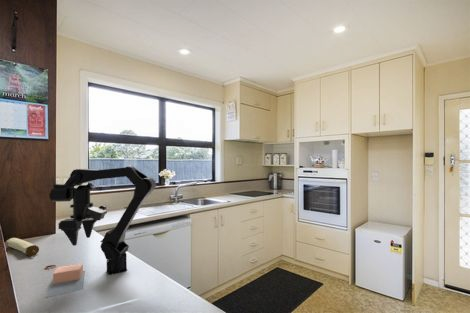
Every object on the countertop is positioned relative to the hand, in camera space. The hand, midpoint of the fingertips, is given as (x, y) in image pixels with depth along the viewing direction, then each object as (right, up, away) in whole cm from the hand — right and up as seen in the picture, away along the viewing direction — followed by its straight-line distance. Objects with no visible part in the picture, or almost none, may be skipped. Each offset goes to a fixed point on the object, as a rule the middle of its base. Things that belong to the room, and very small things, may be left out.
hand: (81, 241), depth 94 cm
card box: (-1, -11, -6) cm, 13 cm away
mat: (+1, -12, -9) cm, 15 cm away
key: (-12, -13, 0) cm, 18 cm away
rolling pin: (-45, -14, +24) cm, 53 cm away
